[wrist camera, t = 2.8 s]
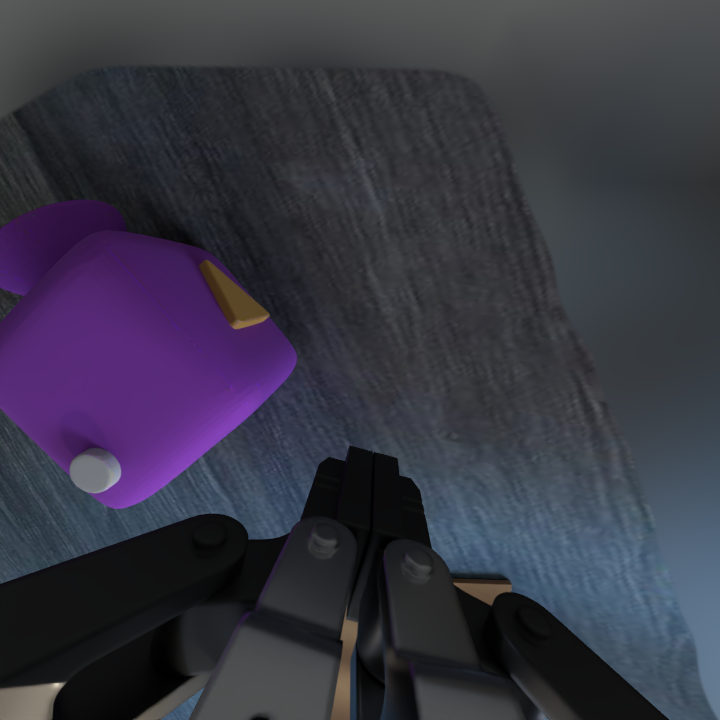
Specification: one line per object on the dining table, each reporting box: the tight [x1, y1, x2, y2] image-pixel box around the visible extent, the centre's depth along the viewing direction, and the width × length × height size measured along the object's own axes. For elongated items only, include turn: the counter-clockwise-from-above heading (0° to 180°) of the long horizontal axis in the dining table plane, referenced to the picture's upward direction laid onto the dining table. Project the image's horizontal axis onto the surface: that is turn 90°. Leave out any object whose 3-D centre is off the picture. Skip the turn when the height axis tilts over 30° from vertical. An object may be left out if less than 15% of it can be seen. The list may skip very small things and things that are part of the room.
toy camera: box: [0, 200, 297, 509], centre depth 18 cm, size 11×14×10 cm
